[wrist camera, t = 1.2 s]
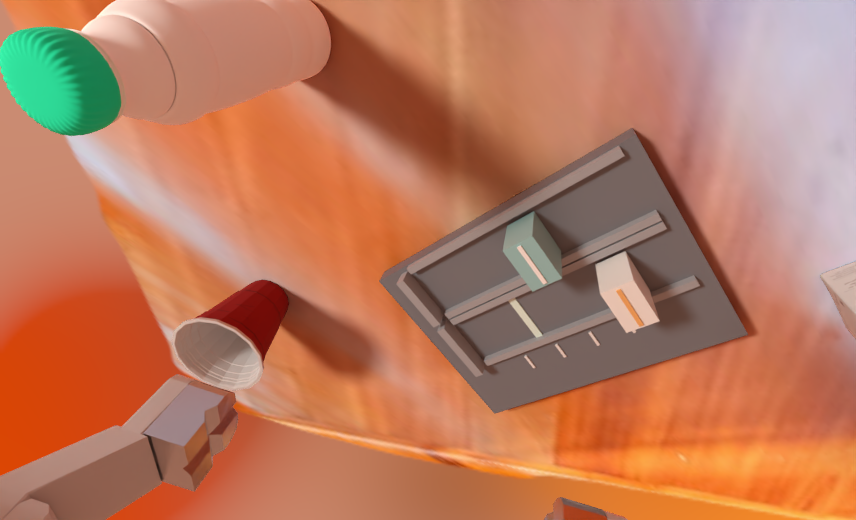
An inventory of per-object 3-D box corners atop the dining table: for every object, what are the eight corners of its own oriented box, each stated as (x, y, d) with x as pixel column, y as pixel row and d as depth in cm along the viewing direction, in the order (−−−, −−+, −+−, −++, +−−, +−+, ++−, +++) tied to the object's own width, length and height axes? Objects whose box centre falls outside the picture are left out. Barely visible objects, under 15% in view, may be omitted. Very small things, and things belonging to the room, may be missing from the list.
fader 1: (534, 211, 42) (532, 236, 37) (561, 250, 43) (562, 279, 39) (507, 225, 43) (502, 251, 39) (534, 263, 44) (532, 292, 40)
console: (632, 127, 38) (640, 141, 35) (740, 321, 45) (756, 348, 42) (384, 271, 52) (373, 291, 49) (496, 401, 59) (492, 426, 56)
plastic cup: (317, 329, 60) (272, 397, 50) (251, 326, 63) (195, 389, 53) (294, 262, 55) (238, 322, 45) (222, 262, 58) (155, 319, 48)
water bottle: (347, 60, 41) (136, 136, 20) (287, 88, 43) (49, 180, 23) (310, -23, 38) (20, -34, 17) (249, 12, 40) (-65, 38, 20)
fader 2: (625, 250, 42) (633, 281, 37) (649, 289, 43) (660, 322, 39) (595, 264, 43) (600, 294, 39) (619, 300, 44) (626, 334, 40)
